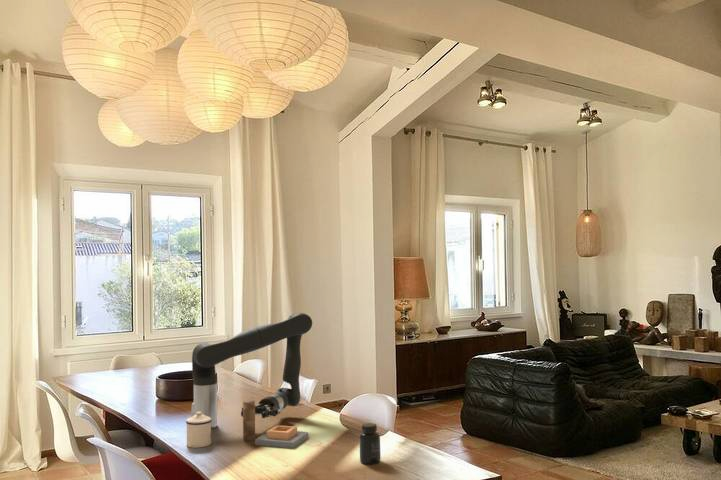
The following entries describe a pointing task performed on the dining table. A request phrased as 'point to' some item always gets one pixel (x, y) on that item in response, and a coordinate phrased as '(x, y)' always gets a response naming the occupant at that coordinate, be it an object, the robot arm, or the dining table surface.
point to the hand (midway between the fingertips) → (252, 414)
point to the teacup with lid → (198, 430)
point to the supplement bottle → (369, 444)
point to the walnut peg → (249, 420)
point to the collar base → (282, 437)
